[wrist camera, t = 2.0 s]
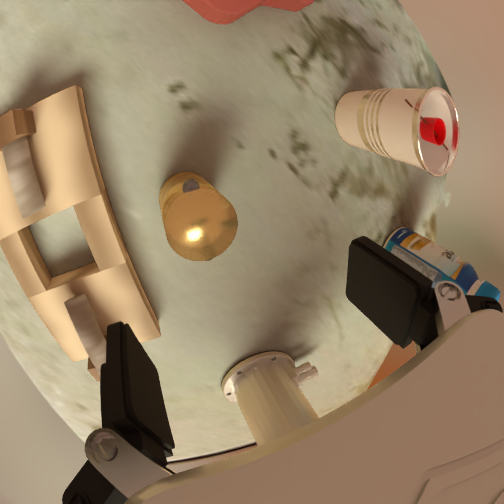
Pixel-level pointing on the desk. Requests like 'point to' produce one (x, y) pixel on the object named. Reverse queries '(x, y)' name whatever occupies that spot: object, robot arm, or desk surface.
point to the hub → (196, 217)
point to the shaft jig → (91, 220)
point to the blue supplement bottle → (437, 262)
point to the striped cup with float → (402, 125)
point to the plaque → (239, 8)
